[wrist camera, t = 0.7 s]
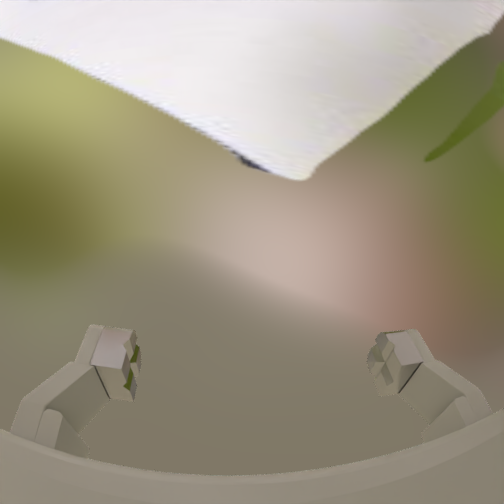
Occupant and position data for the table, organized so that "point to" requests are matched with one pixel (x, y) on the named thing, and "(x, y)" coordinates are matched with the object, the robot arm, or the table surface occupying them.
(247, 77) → the table surface
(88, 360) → the robot arm
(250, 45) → the table surface
